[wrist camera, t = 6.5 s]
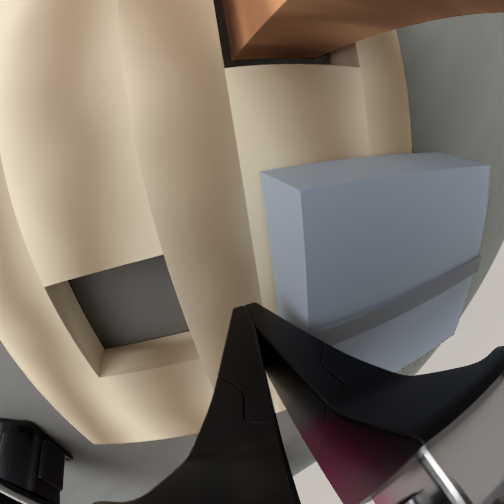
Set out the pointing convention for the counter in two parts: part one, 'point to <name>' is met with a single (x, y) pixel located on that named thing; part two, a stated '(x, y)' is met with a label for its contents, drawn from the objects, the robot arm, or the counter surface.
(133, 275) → the counter surface
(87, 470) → the counter surface
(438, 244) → the block
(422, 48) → the counter surface
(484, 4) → the pin
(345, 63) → the pin board
